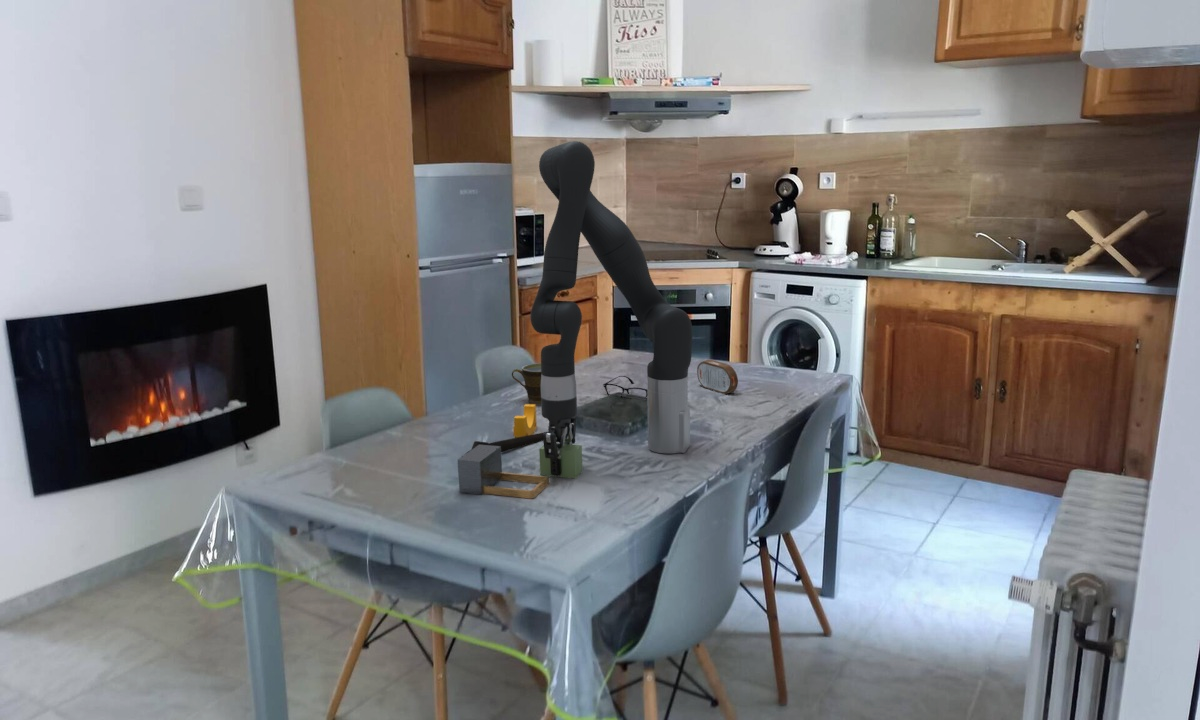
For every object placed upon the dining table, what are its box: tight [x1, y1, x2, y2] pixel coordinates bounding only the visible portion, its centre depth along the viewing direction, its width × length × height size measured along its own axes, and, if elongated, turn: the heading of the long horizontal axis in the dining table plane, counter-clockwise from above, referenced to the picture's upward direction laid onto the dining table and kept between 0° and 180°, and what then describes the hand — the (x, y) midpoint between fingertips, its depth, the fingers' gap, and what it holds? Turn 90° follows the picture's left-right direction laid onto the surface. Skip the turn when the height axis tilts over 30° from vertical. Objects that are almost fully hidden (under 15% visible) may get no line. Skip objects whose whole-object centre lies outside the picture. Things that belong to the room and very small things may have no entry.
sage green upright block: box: [538, 442, 584, 479], centre depth 189 cm, size 8×4×6 cm, turn 72°
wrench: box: [466, 431, 548, 453], centre depth 205 cm, size 5×5×30 cm
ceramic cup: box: [511, 362, 541, 406], centre depth 244 cm, size 13×10×10 cm
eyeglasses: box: [602, 375, 647, 398], centre depth 253 cm, size 16×16×4 cm
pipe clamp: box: [512, 403, 538, 438], centre depth 216 cm, size 12×4×6 cm, turn 171°
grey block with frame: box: [457, 444, 550, 500], centre depth 182 cm, size 16×10×7 cm, turn 72°
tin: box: [696, 358, 739, 395], centre depth 252 cm, size 15×3×8 cm, turn 34°
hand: (561, 469), depth 190 cm, fingers open, 5 cm apart
